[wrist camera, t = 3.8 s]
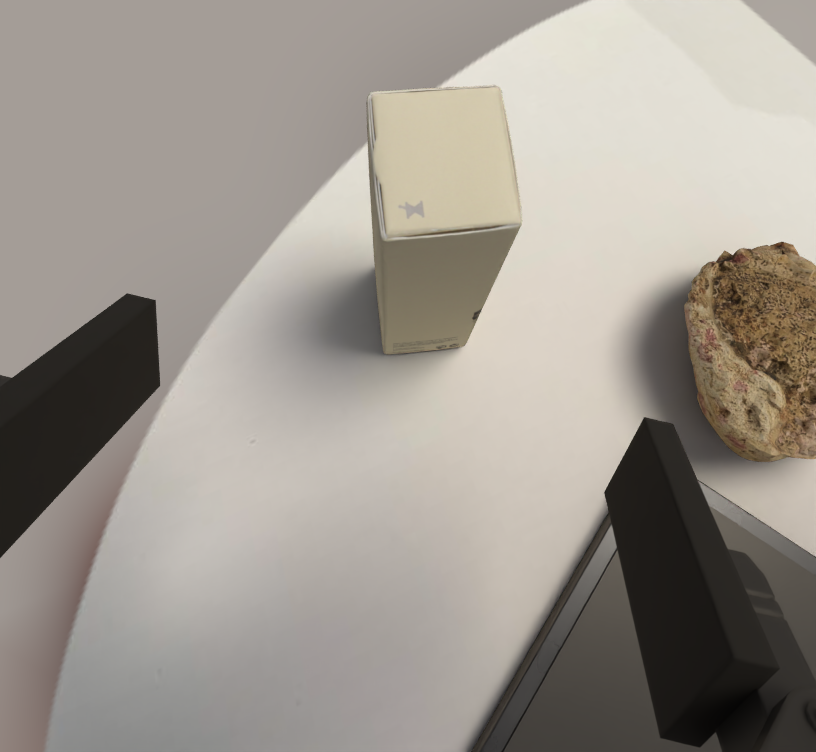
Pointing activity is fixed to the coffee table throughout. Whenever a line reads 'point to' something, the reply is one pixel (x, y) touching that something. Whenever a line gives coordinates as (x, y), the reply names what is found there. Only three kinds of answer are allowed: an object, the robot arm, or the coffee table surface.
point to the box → (438, 210)
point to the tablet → (627, 649)
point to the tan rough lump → (757, 350)
